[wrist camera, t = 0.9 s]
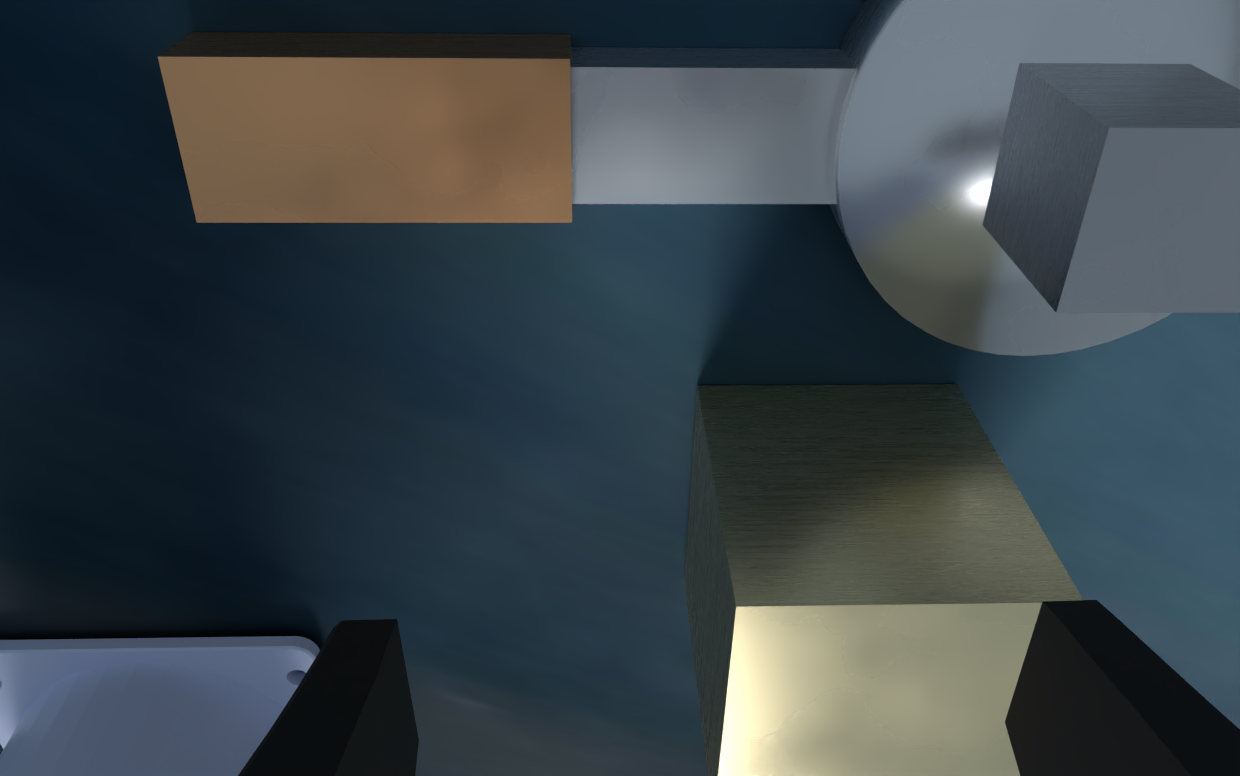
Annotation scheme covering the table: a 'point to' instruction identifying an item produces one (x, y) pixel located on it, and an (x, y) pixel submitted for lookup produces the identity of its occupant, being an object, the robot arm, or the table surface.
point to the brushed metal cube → (858, 582)
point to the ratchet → (783, 147)
